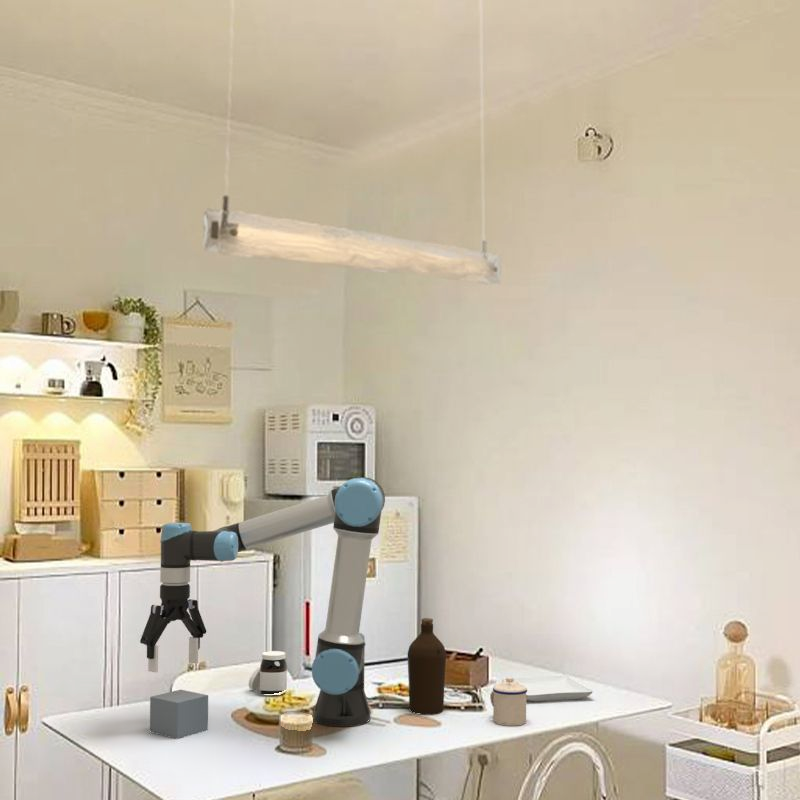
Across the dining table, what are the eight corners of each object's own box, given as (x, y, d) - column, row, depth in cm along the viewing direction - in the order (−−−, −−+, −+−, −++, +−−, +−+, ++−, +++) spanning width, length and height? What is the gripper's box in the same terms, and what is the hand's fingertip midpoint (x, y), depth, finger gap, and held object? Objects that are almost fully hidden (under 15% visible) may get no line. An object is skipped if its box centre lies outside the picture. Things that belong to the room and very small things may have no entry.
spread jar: (284, 697, 307) (284, 656, 307) (245, 697, 307) (245, 656, 308) (289, 688, 319) (289, 648, 319) (251, 687, 319) (252, 648, 320)
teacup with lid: (534, 723, 281) (534, 678, 281) (508, 728, 276) (508, 682, 276) (503, 713, 291) (504, 670, 291) (478, 718, 285) (478, 674, 286)
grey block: (207, 730, 271) (208, 695, 271) (177, 738, 263) (178, 702, 263) (180, 723, 277) (180, 689, 277) (149, 732, 269) (150, 696, 269)
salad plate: (525, 706, 301) (525, 693, 302) (500, 689, 322) (500, 677, 322) (594, 702, 306) (594, 690, 306) (566, 686, 327) (566, 674, 327)
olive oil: (450, 708, 296) (451, 617, 297) (438, 717, 286) (438, 623, 287) (415, 704, 300) (415, 615, 301) (401, 713, 290) (402, 620, 291)
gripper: (200, 577, 285) (199, 657, 284) (126, 587, 265) (125, 673, 264) (220, 579, 281) (219, 661, 280) (147, 589, 261) (145, 677, 260)
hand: (173, 667), depth 272 cm, fingers open, 13 cm apart
